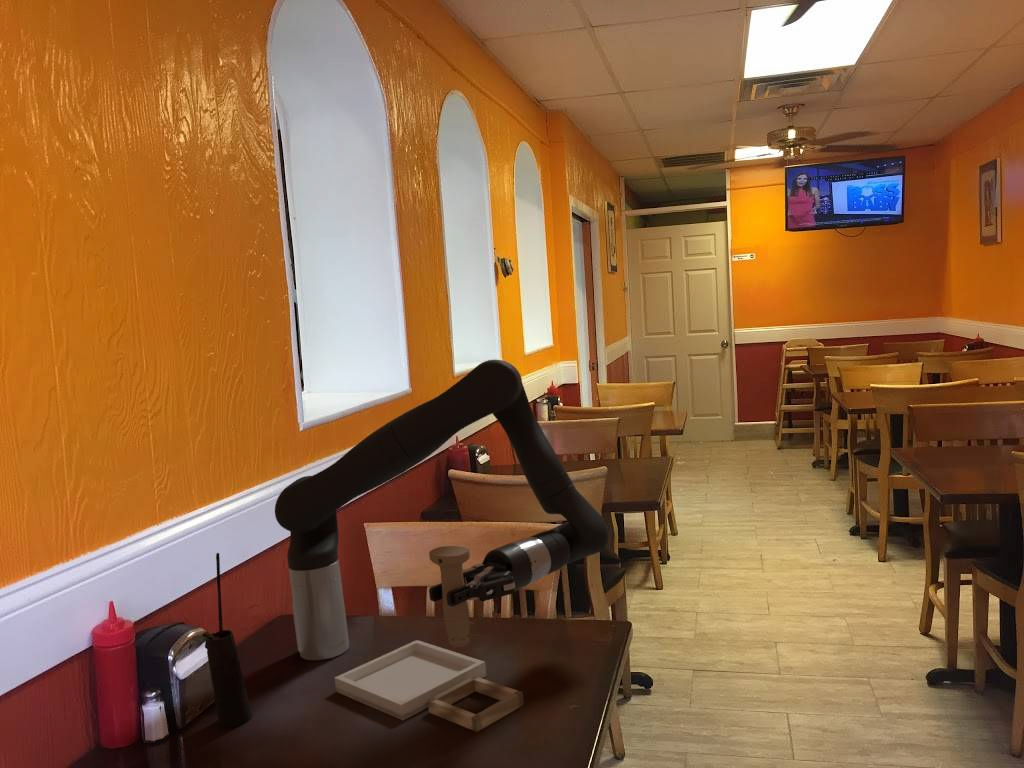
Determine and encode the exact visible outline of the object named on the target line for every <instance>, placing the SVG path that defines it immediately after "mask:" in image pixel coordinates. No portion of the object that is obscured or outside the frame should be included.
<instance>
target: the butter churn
mask: <svg viewBox="0 0 1024 768" xmlns="http://www.w3.org/2000/svg"><path fill="white" fill-rule="evenodd" d="M215 561H216V585H217V607H218V631H217V632H212V633H210V632H209V631H204V632H203V634H202V637H204V638H205V643H206V645H205V647H206V655H207V661H208V665H209V672H210V678H211V679H210V680H211V683H212V689H213V695H214V696H213V699H214V701H215V707H216V713H217V718H218V723H219V724H220V726H221V727H223V728H225V729H227V728H228V729H229V728H236V727H239V726H241V725H243V724H245V723H247V722H248V721H250V720H251V719H252V716H253V714H252V709H251V706H250V702H249V697H248V694H247V689H246V686H245V685H246V683H245V680H244V677H243V676H244V675H243V672H242V667H241V662H240V660H239V655H238V649H237V645H236V641H235V636H234V634H233V631H231V630H230V629H224V627H223V612H222V611H223V609H222V593H221V590H222V589H221V565H220V563H221V561H220V552H217V553H216V554H215Z"/></svg>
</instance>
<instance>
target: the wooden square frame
mask: <svg viewBox="0 0 1024 768" xmlns="http://www.w3.org/2000/svg"><path fill="white" fill-rule="evenodd" d="M475 692H476V693H478V694H482V695H485V696H487V697H490V698H491V699H492V698H493V699H495V700H499V701H497V702H496V703H494V704H492V705H490V706H489V707H487V708H485V709H484V710H482V711H480V712H478V713H476V714H475V713H473V712H471V711H468V710H466V709H463V708H460V707H457V706H456V705H453V704H454V703H456V702H458V701H460V700H462V699H464V698H466V697H468V696H469V695H471V694H473V693H475ZM524 703H525V702H524V694H523V691H520V690H517V689H514V688H512V687H507V686H505V685H502V684H499V683H497V682H493V681H491V680H488V679H485V678H479V677H476V676H473V677H471V678H469V679H467V680H465V681H463V682H461V683H459V684H458V685H456V686H454V687H452V688H450V689H448V690H446V691H444V692H442V693H440V694H439V695H437V696H435V697H433V698H431V699H429V700H428V707H427V708H428V713H430V714H431V715H434V716H437V717H439V718H442V719H444V720H447V721H449V722H452V723H454V724H457V725H459V726H461V727H464V728H466V729H469V730H472V731H474V732H476V733H478V732H480V731H482V730H483V729H485V728H487V727H488V726H490V725H492V724H493V723H496V722H497V721H499V720H501V719H502V718H503V717H506V716H507V715H509V714H510V713H512V712H514V711H515V710H517V709H519V708H521V707H522V706H524V705H525V704H524Z"/></svg>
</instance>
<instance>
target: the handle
mask: <svg viewBox="0 0 1024 768" xmlns="http://www.w3.org/2000/svg"><path fill="white" fill-rule="evenodd" d="M428 554H429V555H428V556H429V560H430V561H431V562H432V563H433V564H435V565H437V566H439V571H440V579H441V581H440V583H442V599H441V600H442V610H443V611H442V612H443V620H444V625H445V631H446V633H447V638H448V643H449V645H450V646H452V648H460V647H461V648H463V647H466V645H469V644H470V641H471V635H470V629H471V628H470V624H471V623H470V611H469V610H470V609H469V603H468V600H467V601H464V602H462V603H460V604H458V605H455V606H453V607H452V606H448V604H447V596H446V595H447V593H448V592H449V591H451V590H454V589H456V588H459V587H461V586H463V585H464V579H463V573H462V569H463V564H464V563H466V562H467V561H468V560H469V559H470V558H471V557H470V556H471V553H470V549H469V548H467V547H466V546H459V545H446V546H439V547H436V548H433V549H431V550H430V551H429V552H428Z"/></svg>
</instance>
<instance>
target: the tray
mask: <svg viewBox="0 0 1024 768" xmlns="http://www.w3.org/2000/svg"><path fill="white" fill-rule="evenodd" d="M473 676H476V677H479V678H482V679H485V678H486V677H487V669H486V662H485V661H484V660H481V659H477V658H475V657H471V656H467V655H465V654H462V653H459V652H455V651H452V650H450V649H446V648H443V647H440V646H437V645H434V644H430V643H428V642H426V641H425V642H424V641H421V640H418V639H417V640H413V641H411V642H409V643H407V644H405V645H403V646H401V647H398V648H397V649H394V650H393V651H390V652H388V653H385V654H383V655H381V656H378V657H377V658H375V659H373V660H370V661H368V662H365V663H363V664H361V665H359V666H356V667H355V668H353V669H350V670H349V671H346V672H344V673H342V674H339V675H338V676H335V677H334V683H335V684H334V685H335V691H336V693H338V694H340V695H343V696H346V697H348V698H350V699H353V700H354V701H357V702H359V703H361V704H364V705H367V706H368V707H371V708H373V709H376V710H378V711H380V712H382V713H385V714H387V715H389V716H391V717H394V718H396V719H399V720H401V721H405V720H407V719H408V718H410V717H413V716H415V715H416V714H418V713H420V712H422V711H424V710H426V709H427V708H429V707H428V700H429V699H431V698H433V697H435V696H437V695H439V694H440V693H442V692H444V691H446V690H448V689H450V688H452V687H454V686H456V685H458V684H459V683H461V682H463V681H465V680H467V679H469V678H471V677H473Z"/></svg>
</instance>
